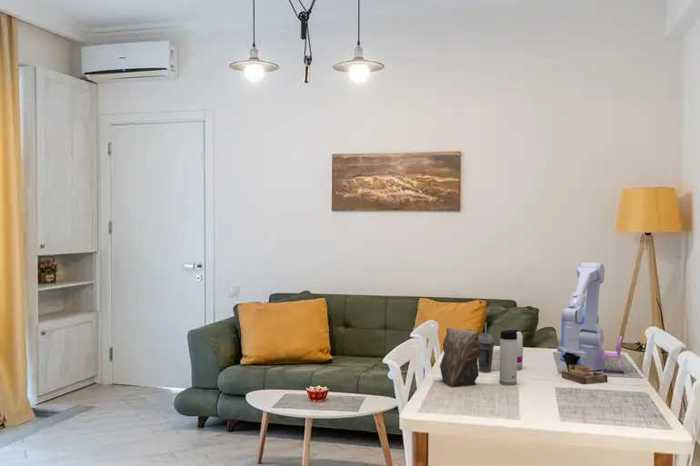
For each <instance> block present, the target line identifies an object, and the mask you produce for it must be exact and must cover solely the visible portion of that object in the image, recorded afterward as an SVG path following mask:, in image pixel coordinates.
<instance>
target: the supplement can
mask: <svg viewBox="0 0 700 466" xmlns="http://www.w3.org/2000/svg"><path fill="white" fill-rule="evenodd" d="M523 338H524V336H523V334H522V332H521V331H518V332H517V371H521V370H522V368H523V359H524V357H523V356H524V355H523V351H524V350H523V349H524V348H523V347H524V346H523V345H524V344H523V343H524V342H523V340H524V339H523Z"/></svg>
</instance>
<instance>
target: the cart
mask: <svg viewBox="0 0 700 466" xmlns="http://www.w3.org/2000/svg"><path fill="white" fill-rule="evenodd" d="M593 372H594V371H593ZM593 372H590V367H588V366H584V365H580V364H574V365H569V373H573V374H576V375H580V376H583V377H587V376H593V374H594V373H593Z"/></svg>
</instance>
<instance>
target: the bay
mask: <svg viewBox="0 0 700 466" xmlns="http://www.w3.org/2000/svg"><path fill="white" fill-rule="evenodd" d="M590 372H593V373H594V374H593V376H587V377H583V376H580V375H576V374H573V373H569V372H568V371H566V370H562V371H561V378H562V379H564V380H568V381H571V382H573V383H574V382H575V383H578V384H582V385H590V384H592V385H593V384H598V383H599V384H600V383H608V375H607V374H604V373H600V372H597V371H594V370H592V371H590Z"/></svg>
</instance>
